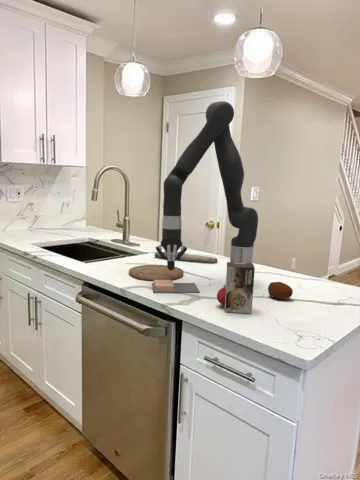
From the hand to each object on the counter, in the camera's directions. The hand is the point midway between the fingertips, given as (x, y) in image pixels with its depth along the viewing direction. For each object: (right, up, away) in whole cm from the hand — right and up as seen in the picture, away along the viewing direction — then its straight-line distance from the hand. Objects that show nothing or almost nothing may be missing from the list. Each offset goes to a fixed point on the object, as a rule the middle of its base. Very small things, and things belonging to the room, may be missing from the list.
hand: (170, 269), depth 153 cm
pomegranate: (+19, -12, -18) cm, 29 cm away
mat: (+2, -8, +1) cm, 8 cm away
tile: (0, -6, 0) cm, 6 cm away
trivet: (-7, -4, +22) cm, 24 cm away
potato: (+42, -11, -6) cm, 44 cm away
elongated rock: (+6, +1, +54) cm, 55 cm away
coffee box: (+23, -12, -21) cm, 34 cm away
